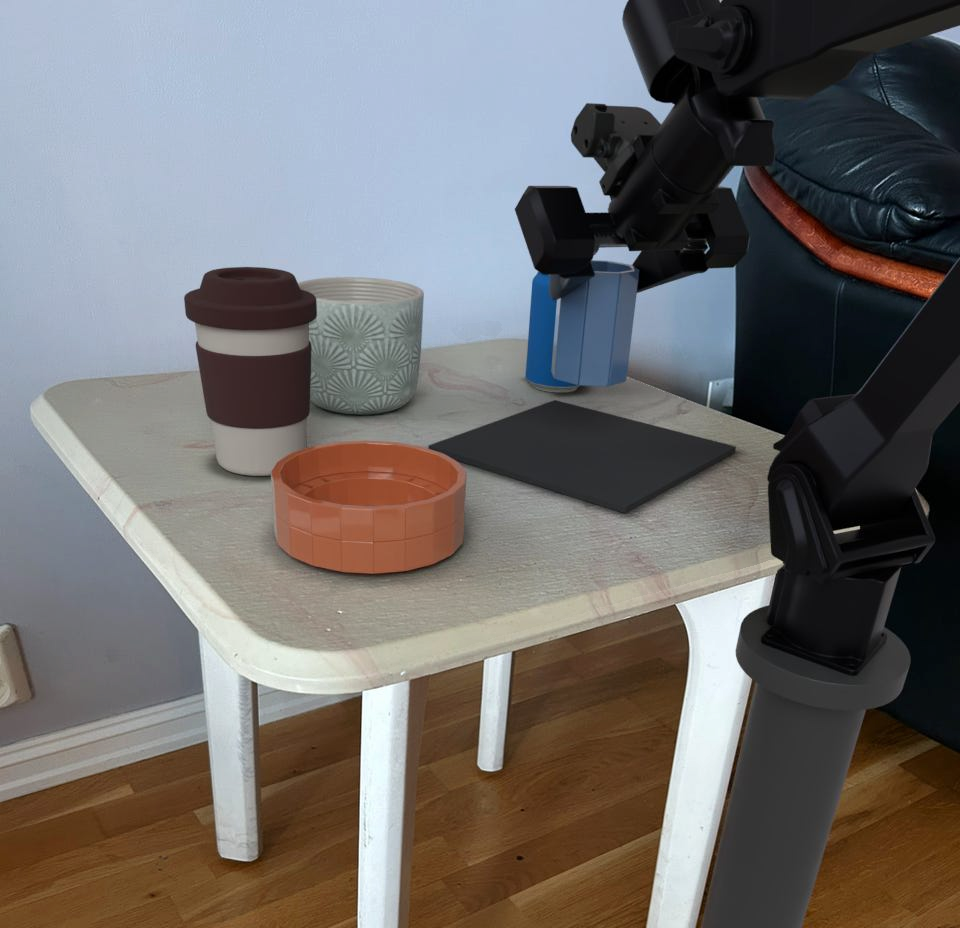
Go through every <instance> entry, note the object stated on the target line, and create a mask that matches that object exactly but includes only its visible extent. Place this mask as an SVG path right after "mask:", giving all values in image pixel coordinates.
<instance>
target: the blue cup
mask: <svg viewBox="0 0 960 928" xmlns="http://www.w3.org/2000/svg"><path fill="white" fill-rule="evenodd" d="M591 264H592V267H593V270H594V273H595V276H594V277H592V278H591V279H589V280H588V281H586V282H585V283H583V284H582V285H580V286H579V287H577V288H576V289H574V290H573V291H571V292H570V293H568V294H567V295H565V296H563V297H562V298H560V299H558V300H557V307H556V319H555V332H554V344H553V356H552V368H551V372H552V374H553V377H554V379H557V380H560V381H564V382H567V383H571V384H575V385H580V386H583V387H584V386H585V387H611V386H615V385H618V384H622V383H625V382H627V377H628V370H629V367H628V366H629V363H630V362H629V361H630V352H631V343H632V335H633V327H634V318H635V311H636V302H637V295H638V293H637V286H638V278H639V270H638V269H637V268H636V267H635V266H634V265H632V264H629V263H623V262H618V261H613V260H601V259H599V260H598V259H596V260H595V259H592V260H591ZM580 386H579V387H580Z"/></svg>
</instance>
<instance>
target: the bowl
mask: <svg viewBox="0 0 960 928" xmlns="http://www.w3.org/2000/svg"><path fill="white" fill-rule="evenodd" d="M428 448H429V447H424V446H421V445H417V444H416V445H415V444H409V443H403V442H397V441H384V440H383V441H382V440H365V439H364V440H348V441H347V440H346V441H336V442H330V443H323V444H318V445H311V446H309V447H306V449H302V450H299V451H296V452H293V453H291V454H289V455H288V456H286V457H284V458H283V459H281V460H279V461H278V462H277V463H276V465H275V466H274V468H273V470H272V471H271V475H270V481H271V484H270V485H271V497H272V513H273V531H274V536H275V540H276V543H277V545H278V547H279V548H281V549H282V550H283V551H284V552H286V554H288V555H289V557H292V558H294V559H296V560H298V561H301V562H303V563H306V564H308V565H311V566H313V567H317V568H321V569H326V570H331V571H336V572H340V573H341V572H342V573H354V574H371V575H374V574H376V575H377V574H385V573H386V574H387V573H388V574H389V573H398V572H407V571H411V570H415V569H419V568H424V567H428V566H431V565H434V564H436V563H438V562H441V561H442V560H445V559H446V558H449V557H450V556H452V555H453V554H454V553H455V552H456V551H457V550H458V549H459V548H460V547H461V546H462V545H463V543H464V535H465V520H466V519H465V518H466V497H467V496H466V495H467V494H466V493H467V471H466V470H465V468H464V467H463V466H462V465H461V463H460V461H457V460H454V459H452V458H450V457H449V456H447V455H445V454H443V453H440V452H437V451H434V450H431V449H428Z"/></svg>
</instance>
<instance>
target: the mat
mask: <svg viewBox="0 0 960 928" xmlns="http://www.w3.org/2000/svg"><path fill="white" fill-rule="evenodd" d="M427 448H428V449H431V450H434V451H437V452H440V453H443V454H445V455H447V456H449V457H450V458H452V459H454V460H456V461H457V462H459V463H460V462H461V463H463V464H466V465H469V466H473V467H476V468H479V469H482V470H485V471H489V472H492V473H495V474H499V475H502V476H505V477H508V478H512V479H514V480H517V481H521V482H524V483H527V484H530V485H532V486H533V485H534V486H536V487H540V488H542V489H546V490H548V491H552V492H556V493H559V494H562V495H565V496H568V497H571V498H575V499H578V500H581V501H584V502H588V503H591V504H594V505H597V506H600V507H603V508H607V509H610V510H613V511H616V512H619V513H622V514H627V513H629V512H630V511H632V510H635V509H636V508H638V507H639V506H641V505H643V504H645V503H647V502H649V501H651V500H652V499H654V498H656V497H659V496H660V495H661V494H663V493H665V492H667V491H669V490H670V489H672V488H674V487H676V486H677V485H680V484H681V483H684V482H685V481H686V480H688V479H690V478H692V477H693V476H696V475H697V474H699V473H701V472H703V471H704V470H706V469H708V468H710V467H712V466H713V465H716V463H718V462H719V463H720V461H722V460H724V459H727V458H728V457H730V456H731V455H733V454H736V451H737V450H736V449H737V447H736V446H735V445H733V444H732V445H731V444H729V443H728V444H727V443H724V442H719V441H716V440H713V439H708V438H705V437H700V436H698V435H693V434H689V433H685V432H681V431H678V430H673V429H670V428H665V427H662V426H657V425H653V424H650V423H646V422H642V421H638V420H634V419H631V418H626V417H623V416H619V415H615V414H611V413H608V412H604V411H601V410H595V409H591V408H587V407H584V406H580V405H576V404H574V403H573V404H572V403H569V402H564V401H561V400H556V399H554V400H551V401H549V402H545V403H542V404H540V405H537V406H534V407H532V408H529V409H526V410H523V411H521V412H518V413H514V414H512V415H510V416H506V417H504V418H501V419H498V420H495V421H493V422H490V423H487V424H484V425H481V426H478V427H476V428H473V429H471V430H468V431H464V432H462V433H459V434H457V435H454V436H451V437H448V438H446V439H442V440H440V441H437V442H434V443H431V444H429V445H428V447H427Z"/></svg>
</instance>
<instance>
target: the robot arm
mask: <svg viewBox="0 0 960 928" xmlns="http://www.w3.org/2000/svg"><path fill="white" fill-rule="evenodd" d="M622 11H623V12H622V16H621V17H622V18H621V22H622V26H623V30H624V32H625V35H626V37H627V40H628V42H629V45H630V48H631V51H632V53H633V56H634V58H635V62H636V64H637V66H638V69H639V71H640V74H641V76H642V80H643V82H644V84H645V87H646V89H647V93H648V94H649V96H650V98H652V99H653V100H654V101H656V102H659V103H662V104H672V105H673V106H672V108H671V109H670V111H669V112H668V114H667V115H666V117H665V118H664V120H663V121H662V123H661V122H660V121H659V120H658V119H657V118H656V117H655V116H654V115H653V113H652V112H651V111H649V110H647V109H645V108H643V107H640V106H627V105H626V106H625V105H607V104H606V103H594V102H593V103H592V102H591V103H590V102H586V103H585V104H584V106H583V107H582V109H581V111H580V112H579V113H578V114H577V116H576V117H575V119H574V122H573V126H572V128H571V132H570V141H571V144H572V145H573V146H574V148H575V149H576V151H578V153H579V154H580V155H581V157H582V158H588V159H589V158H591V159H594V161H595V162H596V163H597V165H598V166H599V167H600V168H601V170H602V171H603V172H604V174H603V175H602V177H601V178H600V180H599V181H598V182H599V185H600V188H601V192H602V194H603V196H609V199H610V202H609V203H608V207H607V212H586V209H585V206H584V204H583V201H582V198H581V196H580V192H579V189H578V187H576V186H571V185H528V186H527V187H526V189H524V190H525V191H524V192H523V193H522V195H521V197H520V199H519V201H518V202H517V204H516V206H515V208H514V212H515V214H516V217H517V221H518V224H519V227H520V229H521V233H522V235H523V239H524V242H525V244H526V248H527V250H528V253H529V254H528V255H529V256H530V260H531V262H532V266H533V269H534V270H535V271H537V272H538V271H539V272H540V273H541V274H543V275H550V282H549V293H550V296H551V299H552V300H558V299H560V298H562V297H563V296H565V295H567V294H568V293H570V292H571V291H573V290H574V289H576V288H577V287H579V286H580V285H582V284H583V283H585V282H586V281H588V280H589V279H591V278H592V277H594V276H595V273H594V270H593V267H592V264H591V260H594V256H595V255H597V253H598V252H599V250H600V249H603V248H627V249H628V251H629V252H639V254H638V255H637V256H636V258H635V259H634V261H633V262H632V264H631V265H634V266H635V267H636V268H637V269H638V270H639V278H638V286H637V294H639V293H641V292H644V291H647V290H651V289H653V288H656V287H659V286H663V285H665V284H668V283H672V282H674V281H678V280H682V279H685V278H687V277H690V276H694V275H698V274H704V273H706V272H707V271H708V270H709V269H710V270H711V269H731V268H732V269H733V268H735V266H736V265H738V263H739V262H740V261H741V260H742V259H743V258H744V257H745V256H746V255H747V254H748V251H749V247H750V241H751V236H750V233H749V230H748V227H747V226H746V222H745V220H744V218H743V215H742V212H741V209H740V206H739V205H738V202H737V199H736V197H735V194H734V192H733V188H732V187H727V186H721V184H722V183H723V181H724V180H725V179H726V178H727V176H728V175H729V174H730V173H731V171H732V170H733V169H734V167H771V166H772V165H773V164H774V163H775V158H776V144H775V143H776V142H775V140H774V130H775V120H773V119H770V118H769V119H768V118H766V117H765V114H764V112H763V110H762V107H761V105H760V104H761V103H760V102H759V99H758V98H760V99H780V100H808V99H809V98H812V97H814V96H815V95H817V94H819V93H821V92H823V91H825V90H826V89H828V88H830V87H832V86H833V85H835V84H837V83H839V82H841V81H843V80H844V79H847V77H849V75H850V74H851V73H852V71H853V70H854V69H855V68H856V67H857V65H859V63H860V62H861V61H863V60H865V59H867V58H868V57H870V56H872V55H873V54H876V53H877V52H880V51H884V50H887V49H890V48H893V47H896V46H900V45H903V44H906V43H909V42H912V41H915V40H919V39H922V38H926V37H928V36H931V35H933V34H937V33H938V34H939V33H941V32H944V31H947V30H951V29H954V28H956V27H960V0H627V2H626V4H625V6H624V9H623V10H622ZM959 404H960V256H959V257H958V259H957V260H956V262H955V263H954V264H953V265H952V267H951V268H950V270H948V272H947V274H946V275H945V276H944V277H943V279H942V280H941V281H940V282H939V284H938V285H937V287H936V288H935V289H934V291H933V292H932V294H931V295H930V296H929V297H928V298H927V300H926V301H925V303H924V304H923V305H922V306H921V308H920V310H919V311H918V312H917V313H916V315H915V316H914V317H913V319H912V320H911V321H910V323H909V324H908V325H907V327H906V328H905V329H904V331H903V332H902V334H901V335H900V336H899V338H897V340H896V341H895V343H894V344H893V345H892V346H891V348H890V349H889V351H888V352H887V354H886V355H885V356H884V358H882V360H881V362H879V364H878V366H876V368H875V370H874V371H873V372H872V374H871V375H870V376H869V378H868V379H867V380H866V382H865V383H864V384H863V385H862V387H861V388H860V389H859V390H858V391H857V392H856V393H853V394H845V395H836V396H826V397H819V398H811V399H809V400H808V401H807V402H806V403H805V404H804V405H803V406H802V407H801V409H800V410H799V411H798V413H797V415H796V417H795V419H794V421H793V423H792V425H791V427H790V429H789V430H788V431H787V433H786V434H785V435H784V436H783V437H782V438H781V439H778V441H776V442H774V443H773V445H772V449H773V450H775V451H778V453H777V454H776V455H775V457H774V458H773V460H772V462H771V464H770V466H769V469H768V473H767V478H766V480H767V482H768V484H767V502H768V520H769V521H768V522H769V541H770V543H769V544H770V554H771V555H772V557H774V558H775V559H777V560H778V561H781V562H782V564H783V565H782V566H781V567H779V568H778V569H777V570H776V574H775V578H774V583H773V588H772V592H771V597H770V602H769V610H768V614H767V619H766V621H767V623H768V625H771V626H772V627H770V628H769V629H768V630H767V631H766V632H765V633H764V634H763V635H762V638H761V643H763V644H764V645H767V646H769V647H772V648H775V649H778V650H780V651H783V652H786V653H789V654H791V655H794V656H797V657H800V658H802V659H805V660H808V661H811V662H813V663H816V664H819V665H822V666H825V667H827V668H830V669H833V670H836V671H838V672H841V673H844V674H847V675H850V676H856V675H858V674H859V673H860V672H861V671H862V669H863V668H864V667H865V666H866V665H867V664H868V662H869V661H870V660H871V659H872V658H873V657H874V655H875V654H876V653H877V652H878V651H879V650H880V648H881V647H882V646H883V645H884V644H885V643H886V640H887V637H888V635H887V634H886V633H884V632H883V628H884V627H885V625H886V621H887V617H888V614H889V611H890V607H891V604H892V600H893V597H894V594H895V590H896V588H897V583H898V580H899V576H900V573H901V569H902V565H907V564H912V565H913V564H917V563H918V564H919V563H920V562H921V561H922V560H923V559H924V557H925V556H926V555H927V553H929V551H930V549H931V548H933V547H932V546H933V545H934V544H935V542H936V535H935V533H934V530H933V528H932V526H931V523H930V521H929V519H928V516H927V514H926V512H925V509H924V506H923V505H922V501H921V499H920V497H919V494H918V492H917V490H916V488H917V487H918V485H919V484H920V482H921V480H922V478H923V477H924V476H925V474H926V473H927V471H928V467H929V462H930V457H931V456H930V455H931V447H932V442H933V436H934V434H935V433H936V430H937V429H938V428H939V426H940V425H941V424H942V423H943V421H944V420H946V418H947V417H948V416H949V415H950V414H951V413H952V411H953V410H954V409H955V408H956V407H957V406H958V405H959ZM857 527H859V528H858V529H852V530H849V531H848V530H846V529H851V528H857ZM842 530H846V531H843V532H836V533H835V531H842Z"/></svg>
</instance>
